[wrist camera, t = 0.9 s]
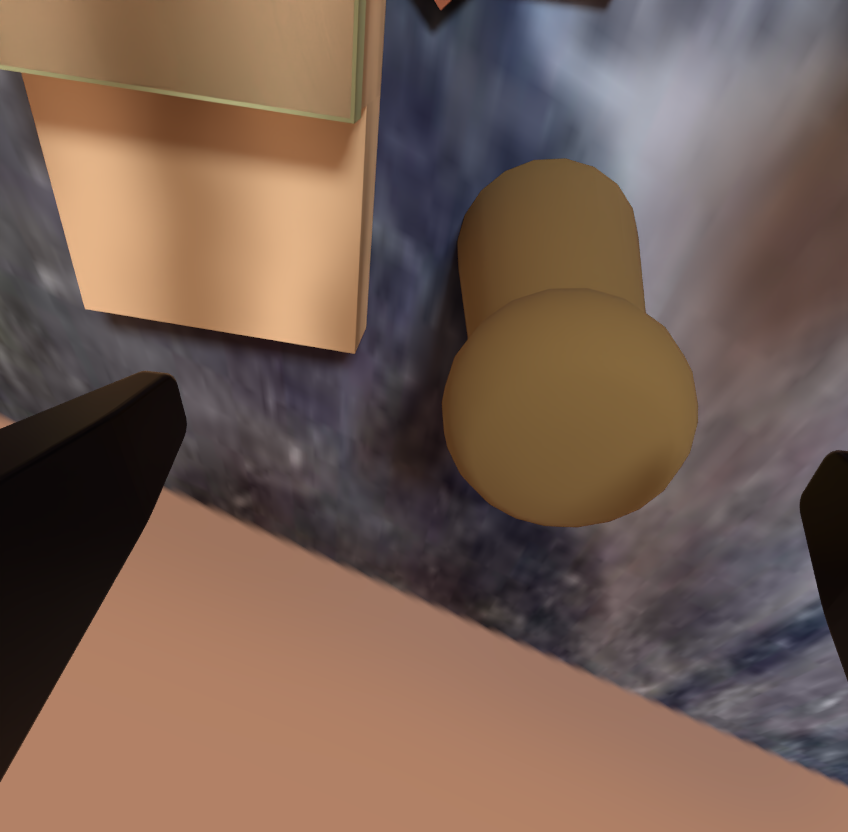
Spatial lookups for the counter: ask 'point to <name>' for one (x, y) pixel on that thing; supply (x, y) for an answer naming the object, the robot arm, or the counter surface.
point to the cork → (562, 354)
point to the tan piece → (211, 156)
